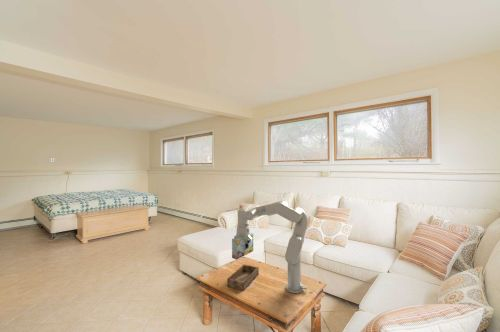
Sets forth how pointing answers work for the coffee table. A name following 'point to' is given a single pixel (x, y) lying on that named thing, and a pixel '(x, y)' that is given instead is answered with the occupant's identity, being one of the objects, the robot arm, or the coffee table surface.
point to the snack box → (241, 247)
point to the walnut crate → (243, 277)
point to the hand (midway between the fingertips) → (243, 247)
